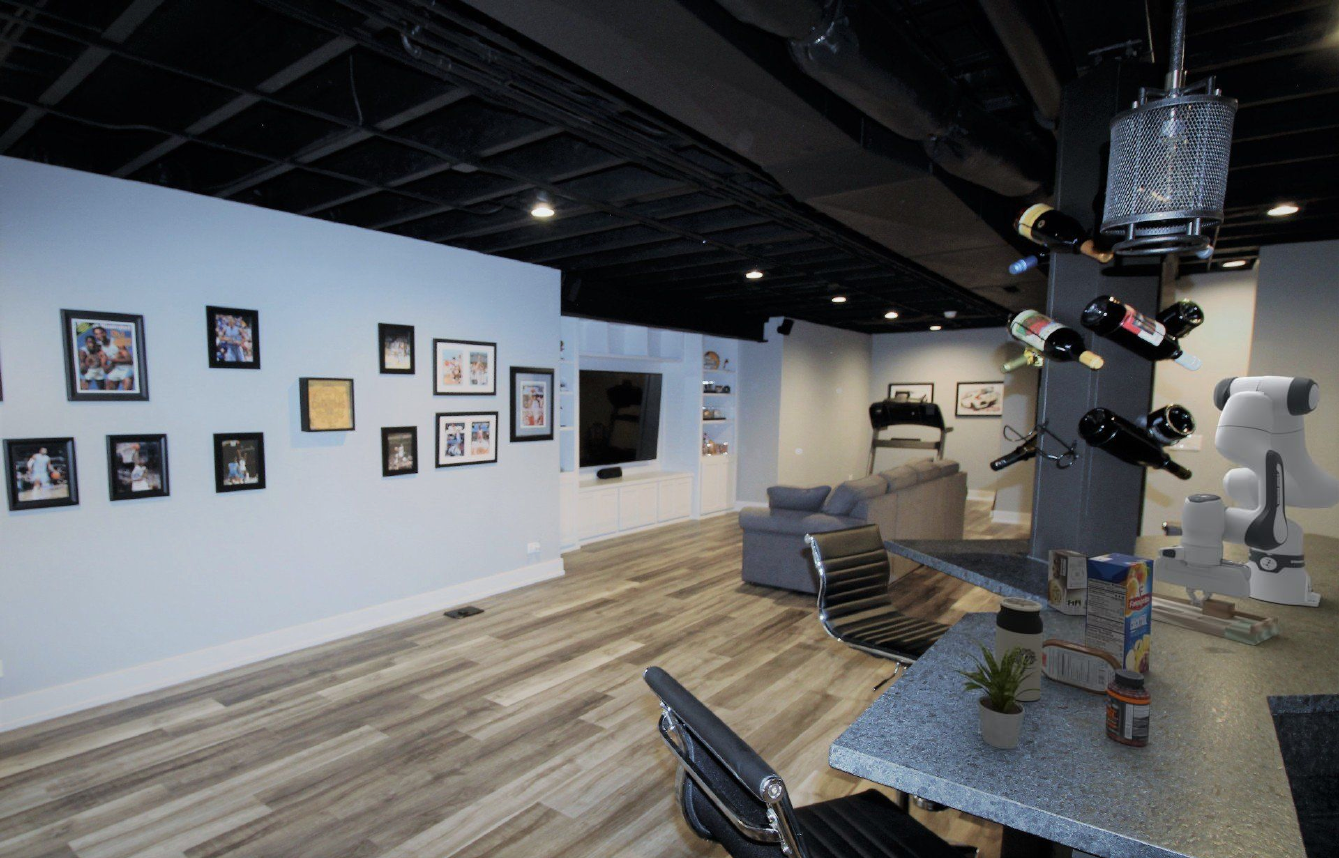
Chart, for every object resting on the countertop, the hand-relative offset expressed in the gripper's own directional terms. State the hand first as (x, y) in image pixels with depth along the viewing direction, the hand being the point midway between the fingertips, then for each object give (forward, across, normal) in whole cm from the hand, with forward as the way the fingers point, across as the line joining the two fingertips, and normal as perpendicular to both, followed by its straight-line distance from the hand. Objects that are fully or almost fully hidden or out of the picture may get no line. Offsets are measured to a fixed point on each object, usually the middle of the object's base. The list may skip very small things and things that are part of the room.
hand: (1198, 606), depth 167 cm
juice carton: (+4, -6, +56) cm, 56 cm away
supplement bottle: (+4, -22, +86) cm, 88 cm away
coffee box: (+4, +21, +23) cm, 32 cm away
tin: (+4, -6, +72) cm, 72 cm away
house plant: (+4, -11, +105) cm, 105 cm away
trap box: (+4, 0, +3) cm, 5 cm away
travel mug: (+4, -2, +86) cm, 86 cm away
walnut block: (+1, -4, 0) cm, 4 cm away
